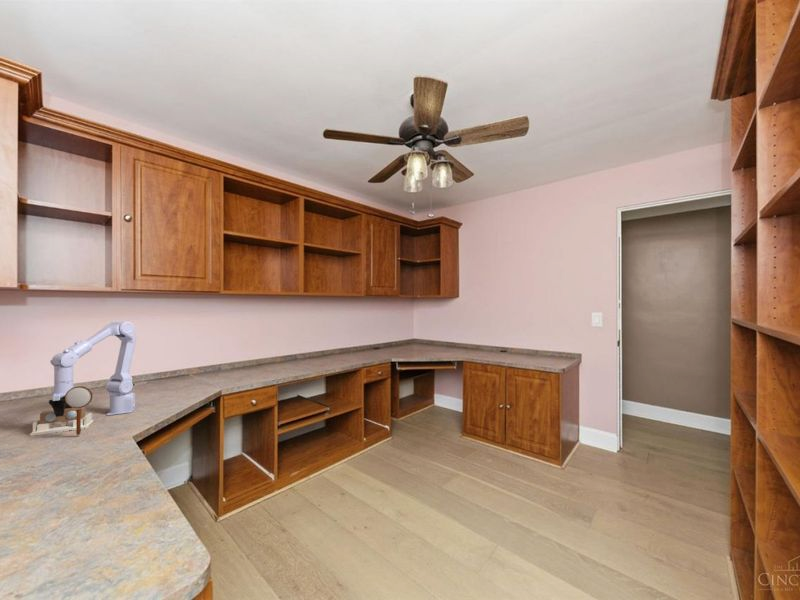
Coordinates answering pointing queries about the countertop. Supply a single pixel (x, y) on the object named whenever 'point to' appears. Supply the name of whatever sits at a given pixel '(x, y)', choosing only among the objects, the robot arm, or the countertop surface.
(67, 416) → the tan wooden plank
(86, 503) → the countertop surface
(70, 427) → the display stand
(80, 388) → the magnifying glass
